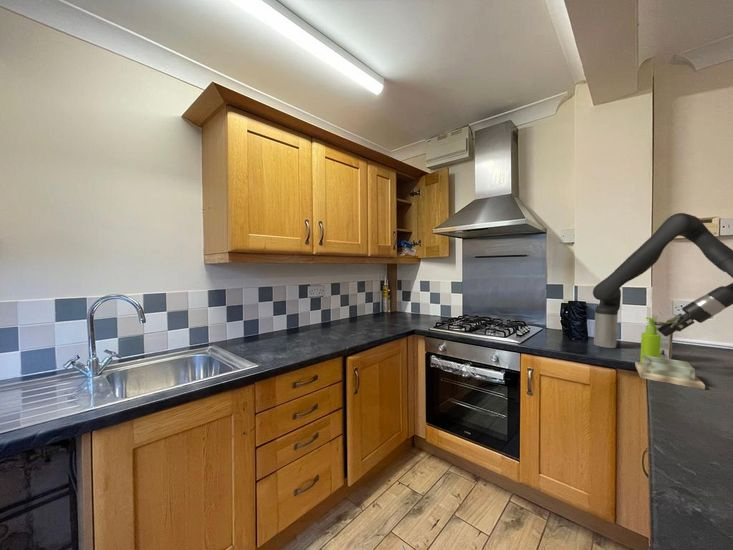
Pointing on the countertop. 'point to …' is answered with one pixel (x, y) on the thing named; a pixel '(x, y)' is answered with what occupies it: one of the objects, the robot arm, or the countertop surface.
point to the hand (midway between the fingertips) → (661, 332)
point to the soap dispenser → (650, 341)
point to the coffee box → (664, 342)
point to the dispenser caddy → (668, 371)
